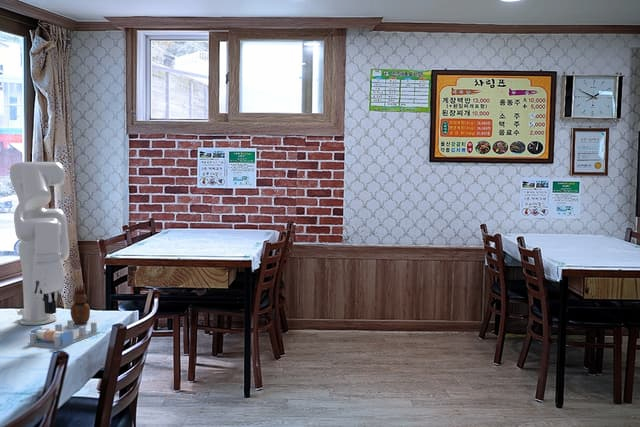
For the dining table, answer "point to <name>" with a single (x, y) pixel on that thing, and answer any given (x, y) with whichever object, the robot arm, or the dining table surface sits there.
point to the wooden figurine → (80, 307)
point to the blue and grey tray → (64, 335)
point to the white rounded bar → (47, 334)
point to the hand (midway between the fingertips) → (50, 313)
